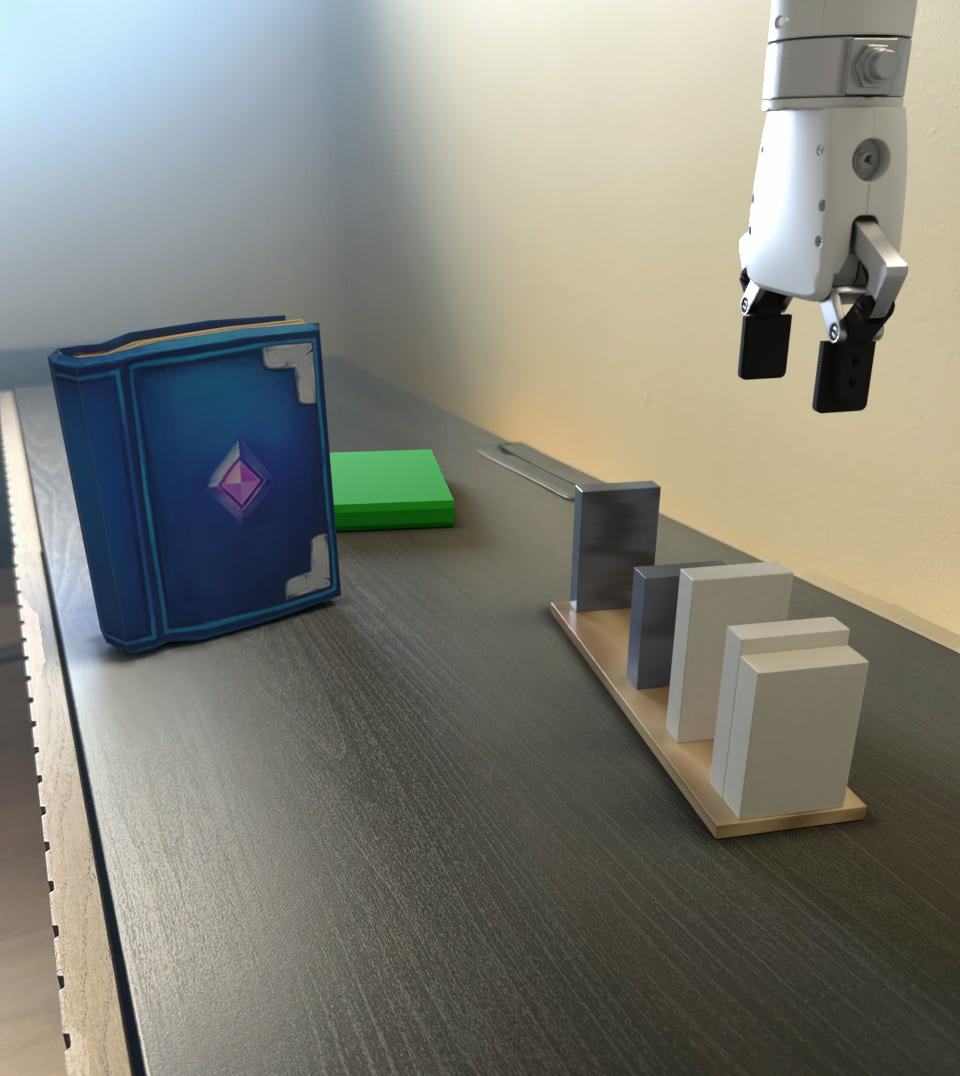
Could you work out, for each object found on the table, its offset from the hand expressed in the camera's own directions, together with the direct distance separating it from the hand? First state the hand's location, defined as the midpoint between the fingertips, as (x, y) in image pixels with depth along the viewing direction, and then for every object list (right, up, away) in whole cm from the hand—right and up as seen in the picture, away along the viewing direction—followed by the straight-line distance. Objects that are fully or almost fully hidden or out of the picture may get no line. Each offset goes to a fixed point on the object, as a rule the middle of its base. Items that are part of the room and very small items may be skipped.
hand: (797, 393), depth 65 cm
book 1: (-42, -14, +28) cm, 52 cm away
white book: (-3, -22, +8) cm, 23 cm away
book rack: (-4, -20, +15) cm, 25 cm away
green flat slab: (-38, +1, +59) cm, 70 cm away
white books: (-1, -25, +1) cm, 25 cm away
